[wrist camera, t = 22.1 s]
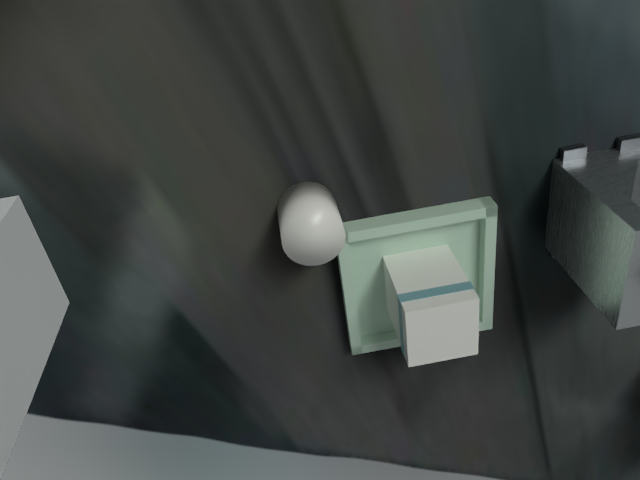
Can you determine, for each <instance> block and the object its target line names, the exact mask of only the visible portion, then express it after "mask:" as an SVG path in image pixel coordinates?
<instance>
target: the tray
mask: <svg viewBox="0 0 640 480" xmlns="http://www.w3.org/2000/svg"><path fill="white" fill-rule="evenodd" d="M497 209H498V206H497V204H496V203H495V202H494V201H493V199H492V198H491V197H490V196H487V197H481V198H476V199H470V200H465V201H459V202H454V203H448V204H443V205H437V206H431V207H426V208H420V209H415V210H409V211H404V212H398V213H393V214H387V215H382V216H376V217H371V218H365V219H360V220H354V221H348V222H343V226H344V229H345V235H346V238H345V243H344V246H343V248H342V250H341V251H340V253H339V254H338V255H337V259H338V266H339V273H340V280H341V287H342V294H343V302H344V309H345V316H346V323H347V330H348V338H349V344H350V348H351V352H352V355H357V354H362V353H368V352H373V351H378V350H383V349H389V348H394V347H399V346H401V345H400V342H399V340H398V337H397V334H396V331H395V329H394V326H393V323H392V320H391V318H390V315H389V312H388V309H387V303H386V291H385V279H384V267H383V256H388V255H393V254H399V253H404V252H410V251H415V250H421V249H426V248H432V247H437V246H443V245H448V246H449V248H450V250H451V251H452V253H453V255H454V256H455V258H456V260H457V261H458V263H459V265H460V266H461V268H462V270H463V272H464V273H465V275H466V277H467V278H468V280H469V281H470V282H471V283H472V285H473V287H474V290H475V292H476V294H477V295H478V297H479V299H480V304H479V331H484V330H489V329H492V323H493V301H494V278H495V255H496V232H497Z"/></svg>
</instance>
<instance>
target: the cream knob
mask: <svg viewBox="0 0 640 480" xmlns="http://www.w3.org/2000/svg"><path fill="white" fill-rule="evenodd" d="M277 213H278V220H279V227H280V234H281V242H282V247H283V250H284V252H285V253H286V255H287V256H288V257H289V258H290V259H291V260H293V261H294V262H296V263H298V264H302V265H306V266H316V265H321V264H324V263H327V262H329V261H330V260H332V259H334V258H335V257H336V256H337V255H338V254H339V253H340V251H341V250H342V248H343V246H344V243H345V238H346V235H345V229H344V226H343V223H342V220H341V217H340V214H339V211H338V208H337V204H336V201H335V198H334V196H333V194H332V193H331V191H330V190H329V189H328V188H326V187H325V186H323V185H321V184H319V183H315V182H301V183H297V184H295V185H293V186H291V187H289V188H288V189H287V190H286V191H285V192H284V193H283V194H282V195H281V197H280V199H279V202H278V206H277Z"/></svg>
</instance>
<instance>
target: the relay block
mask: <svg viewBox="0 0 640 480" xmlns="http://www.w3.org/2000/svg"><path fill="white" fill-rule="evenodd" d="M383 267H384V279H385V291H386V303H387V309H388V312H389V315H390V318H391V320H392V323H393V326H394V329H395V331H396V334H397V337H398V340H399V342H400V345H401V350H402V353H403V355H404V357H405V359H406V362H407V364H408V367H413V366H418V365H423V364H428V363H434V362H439V361H444V360H449V359H455V358H460V357H465V356H470V355H476V354H478V339H479V304H480V299H479V297H478V295H477V294H476V292H475V290H474V287H473V285H472V283H471V282H470V281H469V280H468V278H467V277H466V275H465V273H464V272H463V270H462V268H461V266H460V265H459V263H458V261H457V260H456V258H455V256H454V255H453V253H452V251H451V250H450V248H449V246H448V245H443V246H437V247H432V248H426V249H421V250H415V251H410V252H404V253H399V254H393V255H388V256H383Z"/></svg>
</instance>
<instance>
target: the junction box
mask: <svg viewBox="0 0 640 480" xmlns="http://www.w3.org/2000/svg"><path fill="white" fill-rule="evenodd" d="M639 155H640V134H639V133H638V134H633V135H627V136H622V137H617V138H616V144H615V148H613V149H608V150H602V151H596V152H591V153H587V146H585V145H584V144H583V143H582V144H577V145H571V146H566V147H560V150H559V158H557V159H553V164H552V174H551V184H550V194H549V204H548V214H547V224H546V234H545V245H544V246H545V247H546V248H547V250H548V251H549V255H550V256H551V257H552V258H555V259H556V260H557V261H558V263H559V264H560V265H561V266H562V267H563V268H564V270H565V271H566V272H567V273H568V274H569V275H570V277H571V278H572V279H573V280H574V281H575V282H576V284H577V285H578V286H579V287H580V288H581V289H582V291H583V292H584V293H585V294H586V295H587V297H588V298H589V299H590V300H591V301H592V302H593V304H594V305H595V306H596V307H597V308H598V309H599V311H600V312H601V313H602V314H603V315H604V316H605V318H606V319H607V320H608V321H609V322H610V323H611V325H612V326H613V327H614V328H615V329H616V330H618V329H624V328H629V327H634V326H639V325H640V207H639V206H638V205H637V204H636V203H634V202H633V201H632V200H631V197H632V192H633V187H634V182H635V176H636V171H637V166H638V160H639Z"/></svg>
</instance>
